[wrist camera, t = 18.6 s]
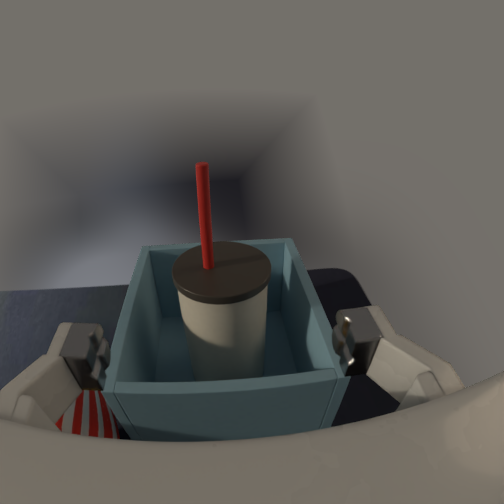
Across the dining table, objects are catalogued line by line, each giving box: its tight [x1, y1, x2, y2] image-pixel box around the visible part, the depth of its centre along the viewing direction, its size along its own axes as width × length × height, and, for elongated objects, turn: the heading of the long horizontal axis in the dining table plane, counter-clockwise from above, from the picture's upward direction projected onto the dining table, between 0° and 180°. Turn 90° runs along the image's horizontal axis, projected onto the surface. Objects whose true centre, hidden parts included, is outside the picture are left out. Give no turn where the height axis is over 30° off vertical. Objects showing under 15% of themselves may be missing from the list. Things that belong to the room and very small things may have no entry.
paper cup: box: [172, 162, 271, 382], centre depth 21 cm, size 6×6×17 cm
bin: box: [101, 238, 351, 442], centre depth 24 cm, size 14×16×9 cm
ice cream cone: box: [55, 390, 120, 439], centre depth 15 cm, size 6×6×20 cm
